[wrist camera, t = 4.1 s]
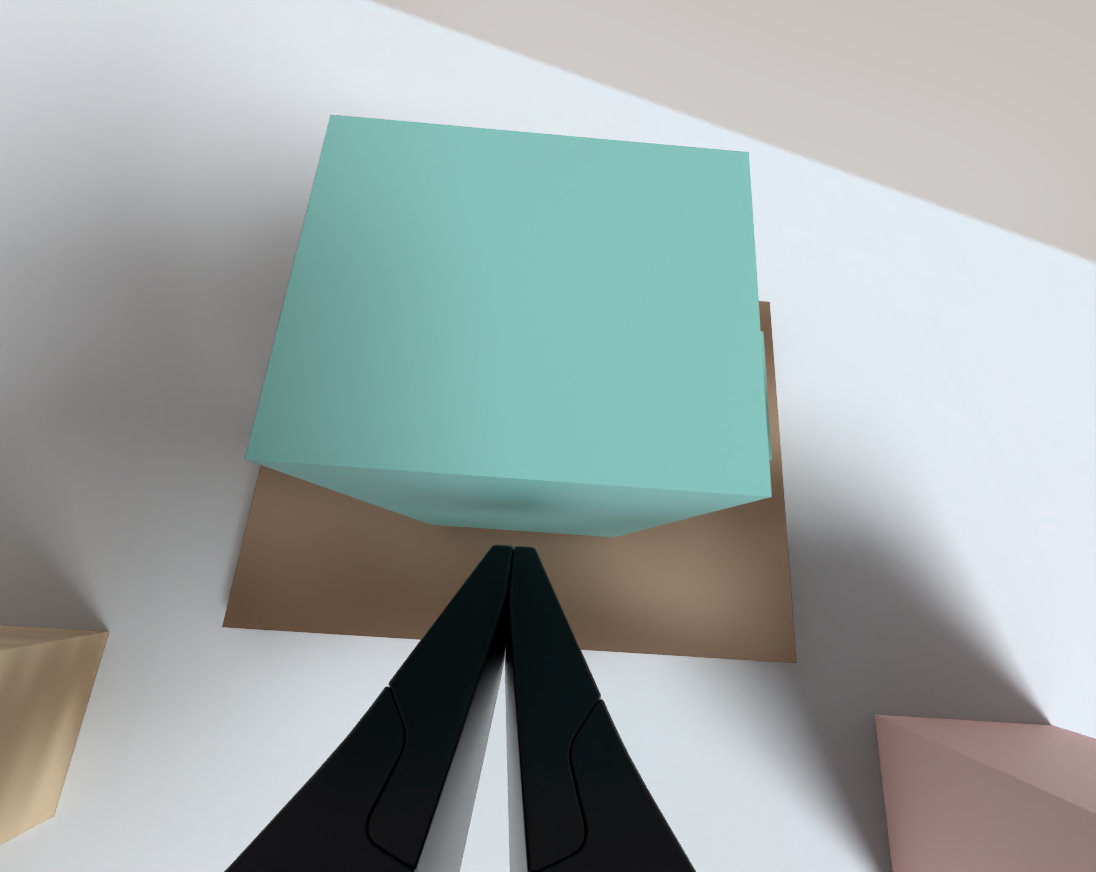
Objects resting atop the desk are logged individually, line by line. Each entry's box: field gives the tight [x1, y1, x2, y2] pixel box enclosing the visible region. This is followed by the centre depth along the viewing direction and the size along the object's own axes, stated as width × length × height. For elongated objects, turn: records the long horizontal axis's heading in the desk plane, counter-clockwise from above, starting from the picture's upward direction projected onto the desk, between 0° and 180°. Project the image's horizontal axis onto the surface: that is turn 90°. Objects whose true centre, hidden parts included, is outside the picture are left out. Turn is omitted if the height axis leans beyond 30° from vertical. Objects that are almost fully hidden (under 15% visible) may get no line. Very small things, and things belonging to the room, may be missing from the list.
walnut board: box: [222, 301, 796, 663], centre depth 16 cm, size 13×18×1 cm
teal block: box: [245, 115, 772, 537], centre depth 11 cm, size 5×6×10 cm
